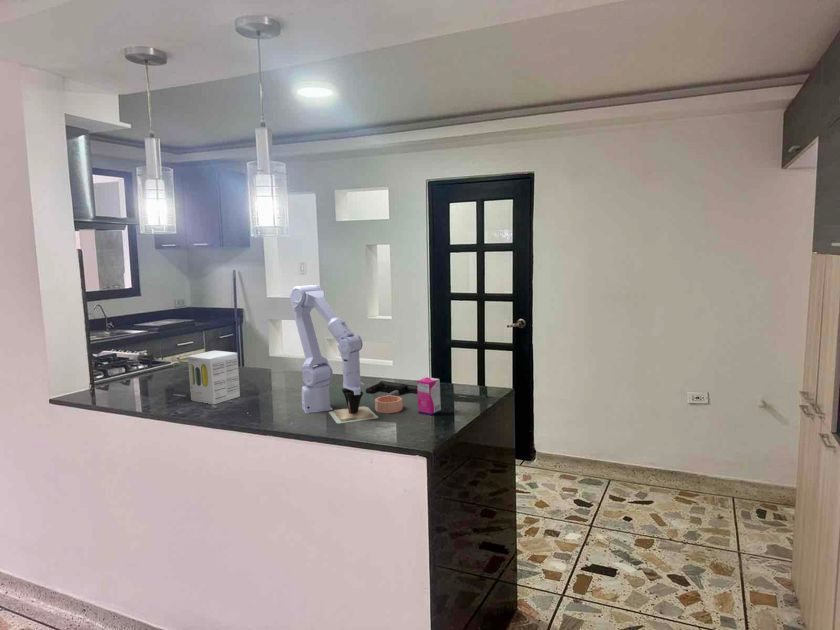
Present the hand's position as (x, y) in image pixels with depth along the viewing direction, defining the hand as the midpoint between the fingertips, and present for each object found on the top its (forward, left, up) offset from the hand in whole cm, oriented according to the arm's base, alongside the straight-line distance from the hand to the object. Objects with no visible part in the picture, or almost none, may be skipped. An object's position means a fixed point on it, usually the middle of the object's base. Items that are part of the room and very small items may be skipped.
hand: (352, 410), depth 188 cm
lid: (0, 0, -1) cm, 1 cm away
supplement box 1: (-43, +45, -2) cm, 62 cm away
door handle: (+21, +22, -2) cm, 30 cm away
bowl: (+13, +1, -2) cm, 13 cm away
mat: (0, 0, -2) cm, 2 cm away
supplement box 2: (+25, -7, -2) cm, 26 cm away
